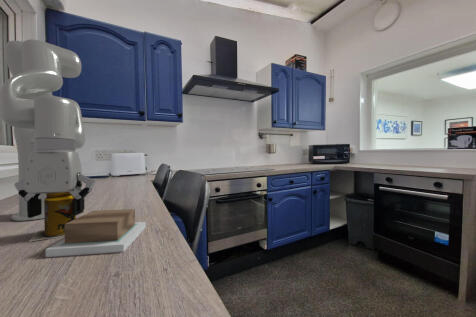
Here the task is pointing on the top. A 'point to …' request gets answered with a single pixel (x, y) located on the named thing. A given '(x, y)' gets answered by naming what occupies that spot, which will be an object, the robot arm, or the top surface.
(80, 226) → the base block
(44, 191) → the robot arm
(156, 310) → the top surface
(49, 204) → the condiment
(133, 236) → the build board
